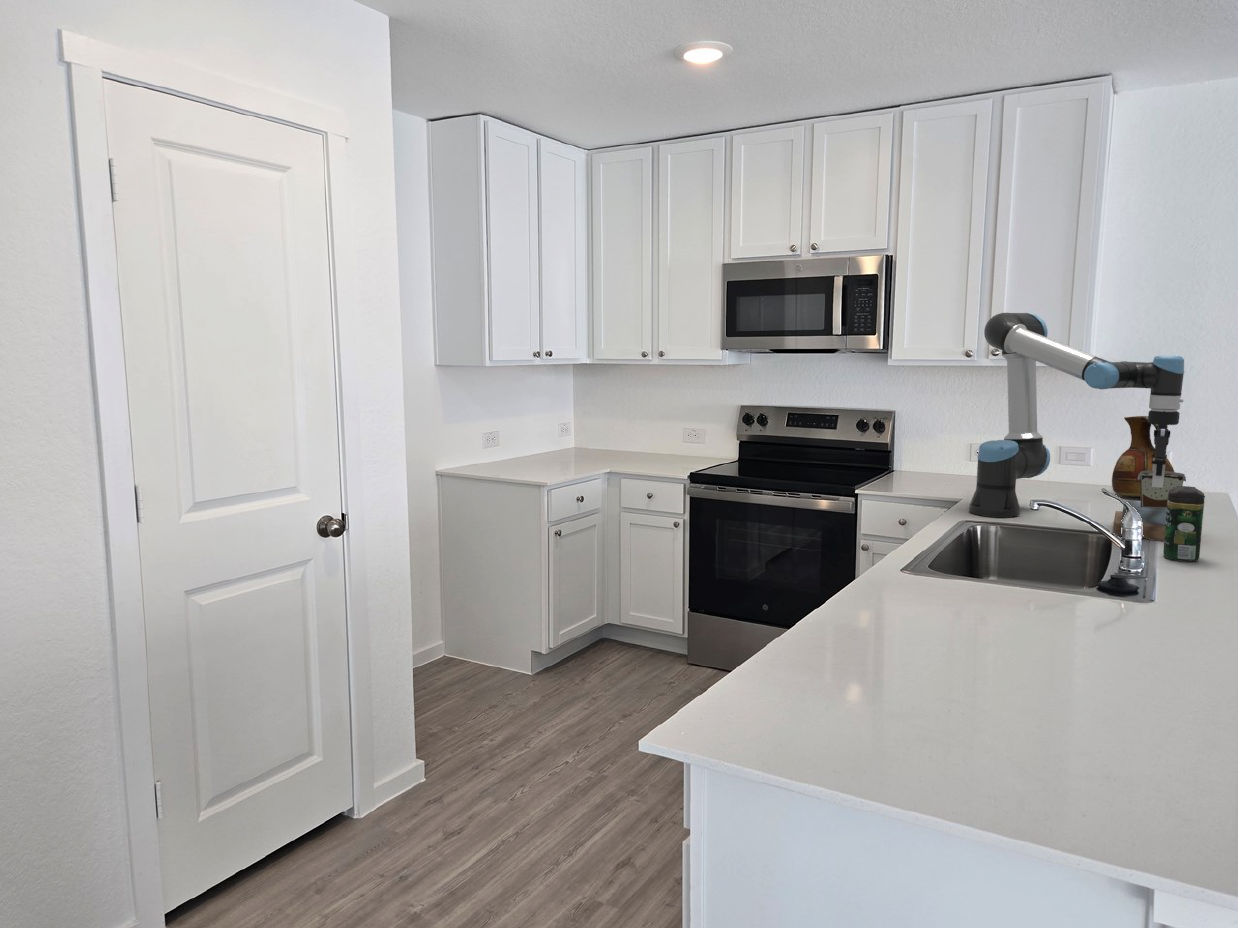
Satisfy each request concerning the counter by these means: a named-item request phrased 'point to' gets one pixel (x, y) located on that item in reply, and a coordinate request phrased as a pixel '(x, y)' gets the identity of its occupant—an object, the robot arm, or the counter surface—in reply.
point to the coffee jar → (1183, 523)
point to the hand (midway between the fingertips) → (1157, 483)
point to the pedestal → (1144, 520)
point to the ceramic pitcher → (1135, 458)
